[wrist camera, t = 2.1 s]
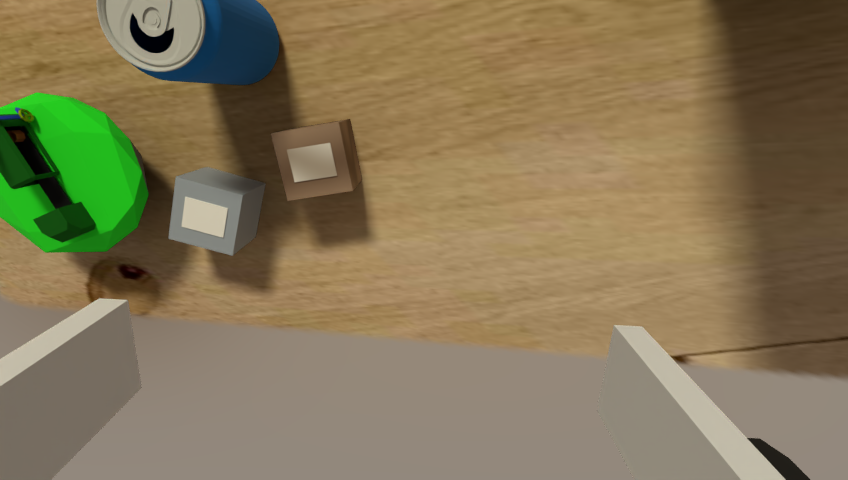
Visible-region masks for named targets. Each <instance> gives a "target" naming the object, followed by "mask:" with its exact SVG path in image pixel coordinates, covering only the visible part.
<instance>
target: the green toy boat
mask: <svg viewBox="0 0 848 480" xmlns="http://www.w3.org/2000/svg"><path fill="white" fill-rule="evenodd" d="M148 195H149V192H148V187H147V182H146V177H145V172H144V167H143V162H142V157H141V154H140V153H139V152H138V150H137V149H136V148H135V146H134V145H133V143H132V142H131V141H130V139H129V138H128V137H127V136H126V135H125V134H124V133H123V132H122V131H121V130H120V129H119V128H118V127H117V126H116V125H115V124H114V122H113V121H112V120H111V119H110V118H109V117H108V116H107V115H106V114H105V113H104V112H101V111H99V110H97V109H95V108H93V107H91V106H89V105H87V104H85V103H83V102H81V101H79V100H77V99H74V98H70V97H63V96H57V95H50V94H43V93H34V94H32V95H30V96H27V97H25V98H23V99H20V100H18V101H15V102H13V103H11V104H8V105H6V106H3V107H1V108H0V217H1V218H2V219H4V220H5V221H6V222H7V223H9V224H10V225H11V226H12V227H14V228H15V229H16V230H17V231H19V232H20V233H21V234H23V235H24V236H25V237H26V238H28V239H29V240H30V241H31V242H33V243H34V244H35V245H37V246H38V247H39V248H40V249H42V250H43V251H44V252H106V251H108V250H109V249H110V248H112V247H113V246H114V245H115V244H117V243H118V242H119V241H121V240H122V239H123V238H124V237H126V236H127V235H128V234H129V233H131V232H132V231H133V230H135V229H136V228H137V227H138V224H139V221H140V218H141V215H142V213H143V210H144V207H145V204H146V201H147V198H148Z"/></svg>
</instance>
